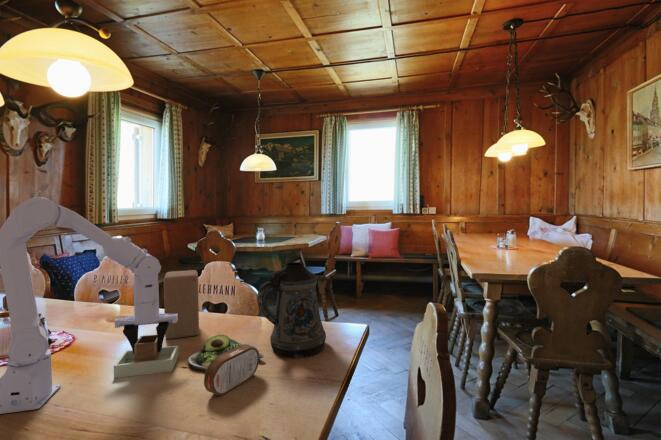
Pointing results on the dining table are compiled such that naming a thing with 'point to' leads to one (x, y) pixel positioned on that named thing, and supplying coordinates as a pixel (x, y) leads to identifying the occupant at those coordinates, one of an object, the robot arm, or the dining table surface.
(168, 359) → the sage crate
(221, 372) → the tin
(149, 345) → the walnut crate
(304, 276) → the beer stein
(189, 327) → the wooden block
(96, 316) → the dining table surface
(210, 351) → the salad plate
